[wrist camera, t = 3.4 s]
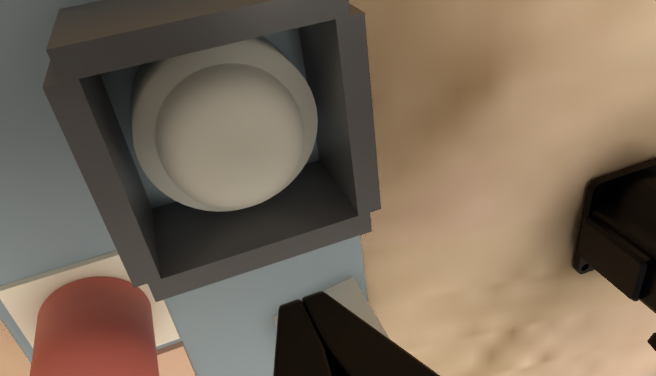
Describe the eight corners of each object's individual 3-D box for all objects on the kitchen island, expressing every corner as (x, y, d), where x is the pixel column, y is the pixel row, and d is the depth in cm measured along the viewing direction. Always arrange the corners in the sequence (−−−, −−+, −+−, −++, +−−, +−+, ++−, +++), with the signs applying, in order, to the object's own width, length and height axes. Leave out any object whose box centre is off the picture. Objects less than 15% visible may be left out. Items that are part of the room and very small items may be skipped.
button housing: (312, -43, 17) (361, -20, 13) (340, 171, 21) (382, 227, 18) (44, 12, 15) (27, 53, 12) (137, 232, 19) (142, 306, 16)
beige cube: (352, 276, 24) (391, 342, 21) (373, 329, 27) (410, 395, 23) (273, 315, 24) (299, 389, 20) (300, 366, 26) (328, 439, 23)
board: (311, -84, 17) (326, -80, 16) (372, 398, 32) (383, 420, 30) (-184, 8, 14) (-211, 21, 13) (135, 494, 29) (136, 522, 27)
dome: (285, 6, 17) (332, 45, 13) (310, 157, 20) (353, 221, 16) (103, 46, 16) (101, 101, 12) (160, 200, 19) (172, 279, 15)
